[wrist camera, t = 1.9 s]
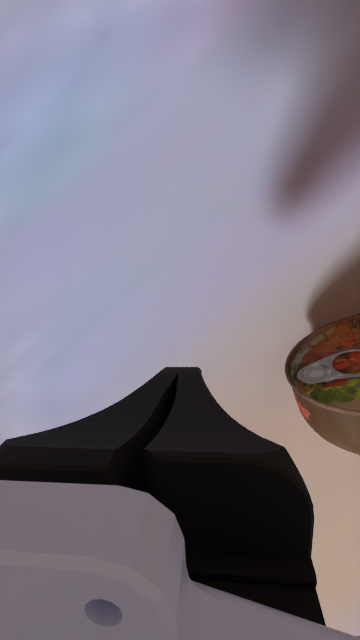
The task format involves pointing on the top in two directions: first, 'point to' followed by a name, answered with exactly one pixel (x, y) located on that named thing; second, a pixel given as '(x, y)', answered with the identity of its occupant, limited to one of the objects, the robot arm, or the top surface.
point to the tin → (329, 381)
